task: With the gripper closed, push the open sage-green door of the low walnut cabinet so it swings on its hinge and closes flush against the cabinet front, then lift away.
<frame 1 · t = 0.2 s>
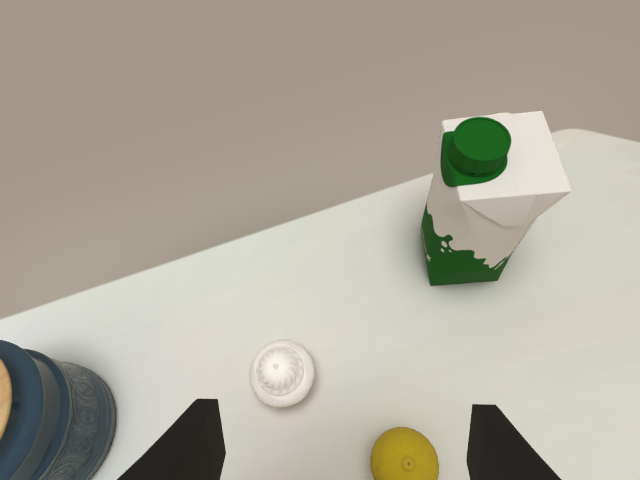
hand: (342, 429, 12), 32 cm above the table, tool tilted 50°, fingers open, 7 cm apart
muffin: (288, 379, 44), on the table
lemon: (400, 462, 40), on the table
milk carton: (457, 255, 48), on the table
canister: (57, 432, 44), on the table
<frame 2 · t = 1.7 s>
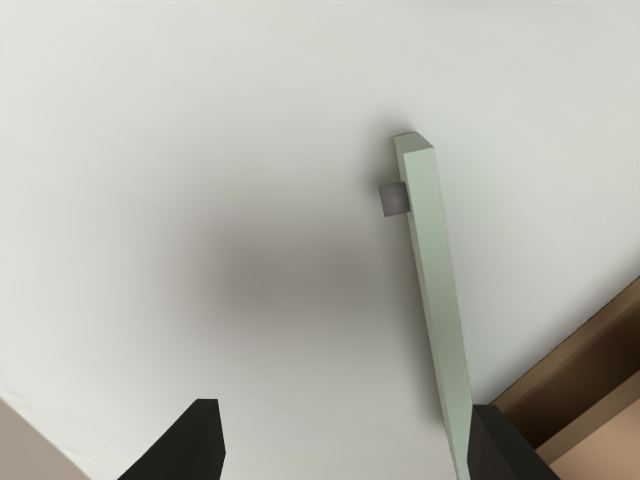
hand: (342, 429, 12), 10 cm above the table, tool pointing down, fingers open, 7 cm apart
door: (429, 325, 19), point 3 cm above the table, hinge at 50.0°
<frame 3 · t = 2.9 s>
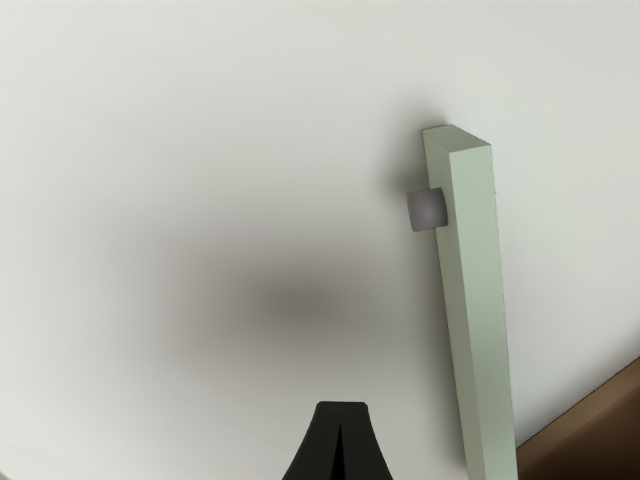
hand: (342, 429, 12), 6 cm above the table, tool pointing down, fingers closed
door: (461, 363, 16), point 3 cm above the table, hinge at 50.0°
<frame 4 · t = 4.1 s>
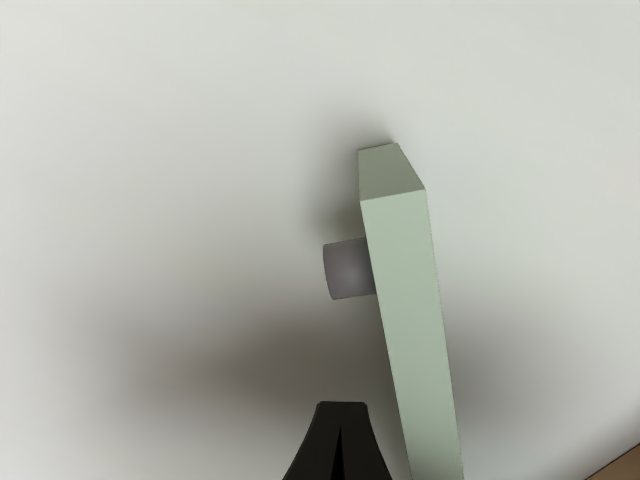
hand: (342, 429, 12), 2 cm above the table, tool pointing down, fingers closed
door: (412, 463, 12), point 3 cm above the table, hinge at 50.0°, touching gripper
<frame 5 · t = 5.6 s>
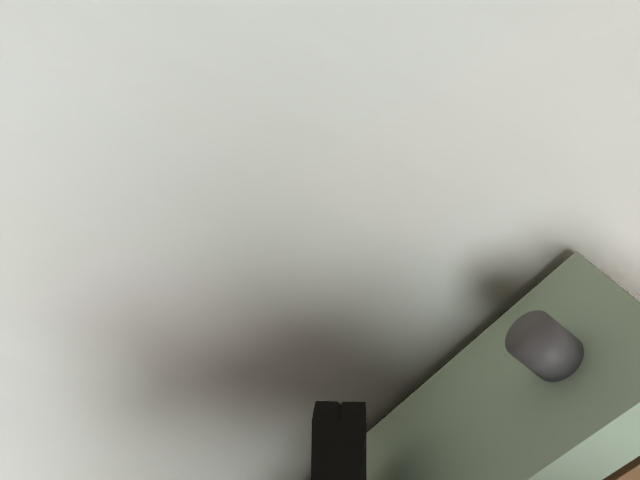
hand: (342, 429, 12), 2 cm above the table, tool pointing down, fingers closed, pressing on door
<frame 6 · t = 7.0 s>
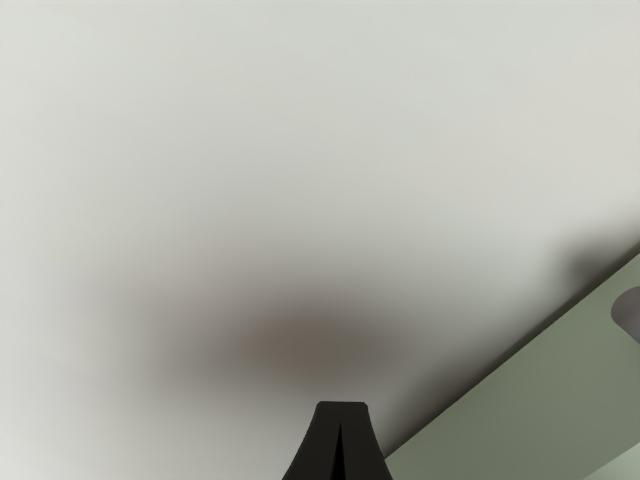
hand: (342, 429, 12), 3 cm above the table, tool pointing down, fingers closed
door: (476, 454, 13), point 3 cm above the table, hinge at -1.0°
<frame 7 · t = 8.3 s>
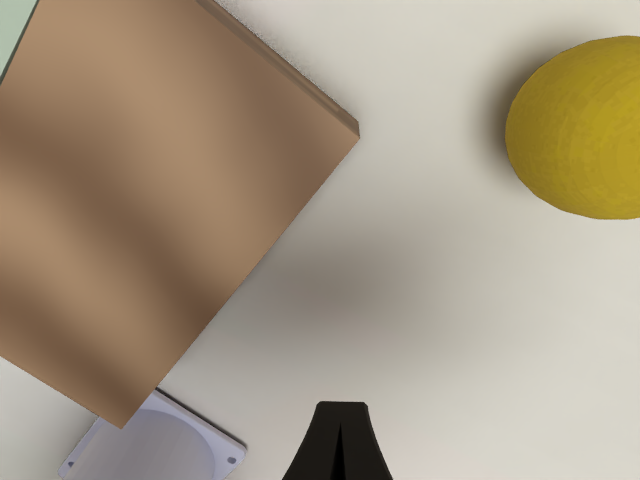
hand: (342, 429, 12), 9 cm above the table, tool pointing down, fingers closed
lemon: (547, 117, 18), on the table
cabinet: (163, 190, 20), on the table
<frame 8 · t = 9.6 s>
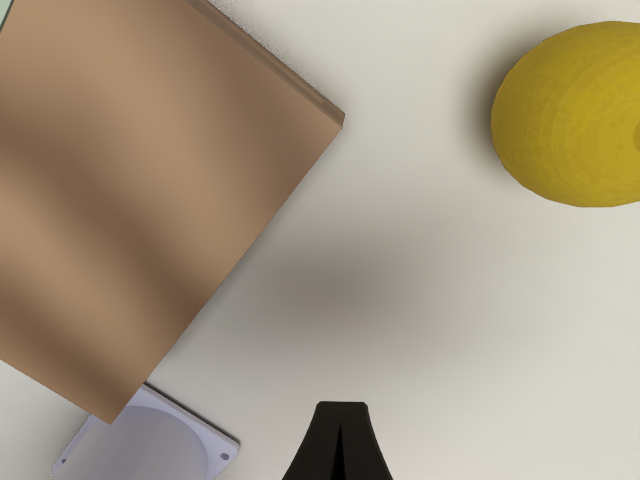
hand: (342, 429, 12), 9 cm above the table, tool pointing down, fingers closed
lemon: (535, 107, 18), on the table
cabinet: (151, 185, 20), on the table
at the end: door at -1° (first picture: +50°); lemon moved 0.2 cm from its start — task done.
